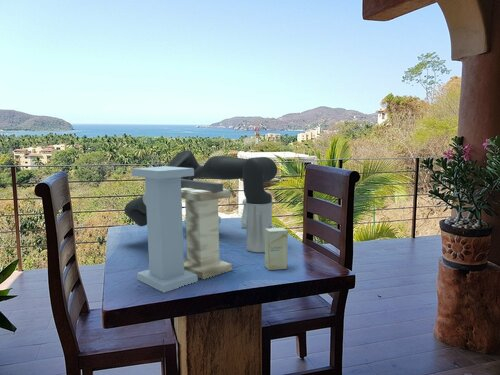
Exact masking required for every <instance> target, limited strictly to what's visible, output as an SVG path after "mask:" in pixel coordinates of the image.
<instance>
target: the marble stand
mask: <svg viewBox="0 0 500 375" xmlns="http://www.w3.org/2000/svg"><path fill="white" fill-rule="evenodd" d="M231 192H232V191H231V190H229V189H228V188H223V191H222V192H213V191H206V190H199V189H192V188H181V198H182V199H183V200H185V201H184V202H185V203H184V204H185V218H186V225H185V228H186V229H185V232H186V234H185V235H186V258H185V259H184V270H187V271H189V272H192V273H194V274H197V279H200V278H201V279H200V280H203V279H204V280H207V279H210V278H213V277H216V276H219V275H222V274H221V273H223V274H225V273H224V272H226V273H229V272H231V271H233V263H230V262H227V261H224V260H221V259H220V230H219V229H220V225H219V220H218V216H219V200H221V199H226V198H227V199H228V198H231V196H232V195H231ZM228 271H229V272H228ZM218 274H219V275H218ZM215 275H216V276H215ZM212 276H213V277H212ZM209 277H210V278H209ZM206 278H207V279H206Z"/></svg>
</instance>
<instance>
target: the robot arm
mask: <svg viewBox="0 0 500 375" xmlns="http://www.w3.org/2000/svg"><path fill="white" fill-rule="evenodd" d="M167 166H169V167H182V168H194V176H186V177H181V179H187V180H193V179H213V180H219V181H226V180H227V181H230V180H231V181H232V180H233V181H234V180H240V179H242V186H243V194H244V197H245V199H246V228H245V229H246V251H248V252H252V253H265V229H268V228H273V197H272V194H271V193H269V192H267V191H266V190H265V188H264V183H268V182H270V181H272V180H274V179H275V177H276V176H277V173H278V167H277V164H276V162H275V161H274V160H273V159H271V158H270V157H268V156H255V157H249V158H243V157H235V156H226V155H225V156H224V155H213V156H212V157H210V158H208V159H207V160H206V161H205V163H204V164H203V165H201V164H200V163H199V162H198V160H197V158H196V156H195V155H194V153H193V152H192V151H191V150H190V149H186V150H181V151H179V152H178V153H177V154H176V155H175V156H174V157H173V158H172V159H171V161H170V163H168V165H167ZM181 188H185V187H181ZM124 214H125V215H126V216H127V217H128V218H130V220H132V222H133V223H134V224H136V226H138V227H146V226H147V210H146V191H145V192H144V193H143V194H142V195H141V196H139V197H138V198H134V199H132V200H130V201H128V202H127V203H126V205H124Z"/></svg>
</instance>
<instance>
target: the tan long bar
mask: <svg viewBox="0 0 500 375" xmlns="http://www.w3.org/2000/svg"><path fill="white" fill-rule="evenodd" d="M181 187H185V188H192V189H199V190H206V191H213V192H222V191H223V189H224V184H223V183H220V182H211V181H203V180H193V179H190V180H187V179H183V178H182V179H181Z"/></svg>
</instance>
